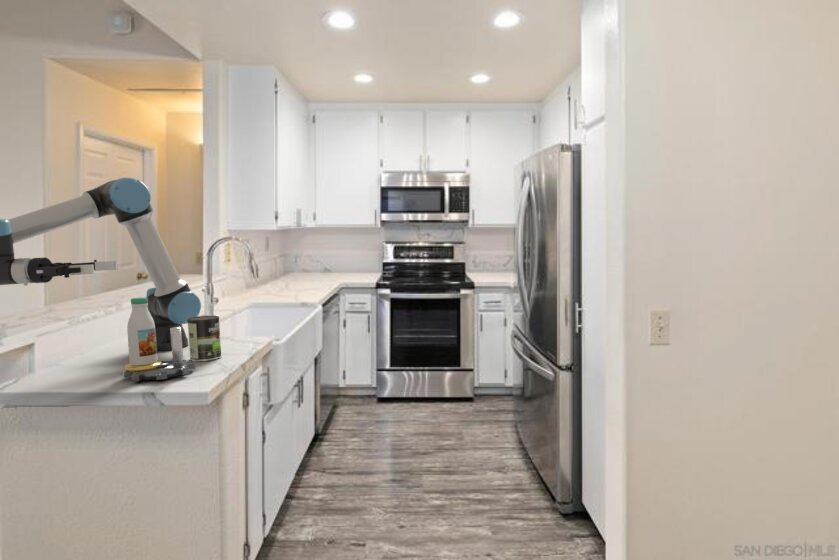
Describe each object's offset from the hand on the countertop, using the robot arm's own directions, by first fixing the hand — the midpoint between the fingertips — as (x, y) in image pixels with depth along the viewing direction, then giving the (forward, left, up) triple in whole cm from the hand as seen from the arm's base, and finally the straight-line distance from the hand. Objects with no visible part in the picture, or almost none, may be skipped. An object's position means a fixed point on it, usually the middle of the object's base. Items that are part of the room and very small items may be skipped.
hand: (105, 267), depth 177 cm
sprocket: (-6, +12, -34) cm, 36 cm away
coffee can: (-29, +8, -34) cm, 46 cm away
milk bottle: (-4, +8, -30) cm, 31 cm away
